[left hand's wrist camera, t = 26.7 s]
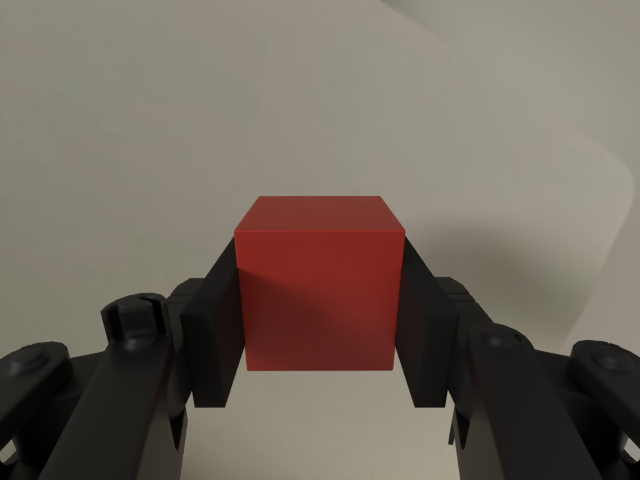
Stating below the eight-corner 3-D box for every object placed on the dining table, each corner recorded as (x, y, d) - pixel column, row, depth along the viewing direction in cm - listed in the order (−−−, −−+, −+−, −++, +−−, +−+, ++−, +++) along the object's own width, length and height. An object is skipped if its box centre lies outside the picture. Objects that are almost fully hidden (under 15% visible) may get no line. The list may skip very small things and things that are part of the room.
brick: (380, 195, 13) (406, 229, 10) (374, 304, 15) (393, 371, 11) (258, 195, 14) (233, 230, 10) (265, 304, 15) (246, 371, 11)
